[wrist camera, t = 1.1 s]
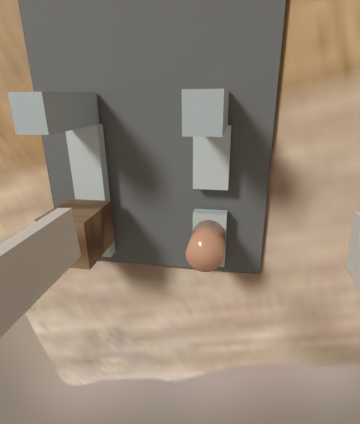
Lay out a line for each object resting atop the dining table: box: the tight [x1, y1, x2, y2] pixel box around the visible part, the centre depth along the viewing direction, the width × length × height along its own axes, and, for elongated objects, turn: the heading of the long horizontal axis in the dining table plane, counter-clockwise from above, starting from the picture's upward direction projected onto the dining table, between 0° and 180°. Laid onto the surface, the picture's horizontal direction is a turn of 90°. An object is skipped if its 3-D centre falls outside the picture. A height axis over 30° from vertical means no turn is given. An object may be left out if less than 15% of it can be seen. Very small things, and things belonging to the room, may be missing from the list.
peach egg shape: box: [186, 220, 226, 272], centre depth 34 cm, size 4×4×5 cm
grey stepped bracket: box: [8, 92, 116, 257], centre depth 34 cm, size 20×4×10 cm, turn 0°
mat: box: [18, 0, 286, 274], centre depth 36 cm, size 32×28×1 cm
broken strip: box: [182, 89, 231, 267], centre depth 31 cm, size 20×4×10 cm, turn 0°
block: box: [35, 199, 115, 269], centre depth 36 cm, size 6×6×7 cm
